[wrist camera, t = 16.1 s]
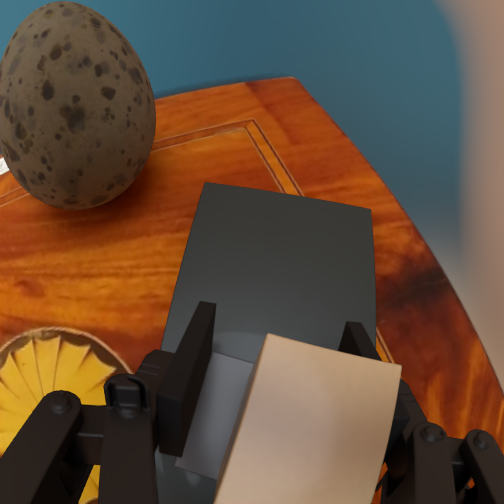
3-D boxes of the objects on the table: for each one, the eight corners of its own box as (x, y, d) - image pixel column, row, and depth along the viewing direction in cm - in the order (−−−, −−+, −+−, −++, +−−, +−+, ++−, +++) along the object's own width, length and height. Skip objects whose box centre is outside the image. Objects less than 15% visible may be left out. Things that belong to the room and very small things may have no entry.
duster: (329, 496, 13) (416, 544, 5) (179, 461, 14) (129, 497, 6) (356, 394, 16) (456, 359, 8) (214, 358, 17) (201, 293, 9)
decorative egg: (161, 128, 27) (142, -33, 14) (174, 225, 22) (136, 2, 9) (50, 156, 25) (-4, 15, 12) (36, 257, 20) (-79, 93, 7)
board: (341, 562, 11) (346, 568, 10) (132, 541, 11) (127, 546, 11) (366, 216, 23) (371, 208, 22) (205, 190, 23) (204, 181, 22)
